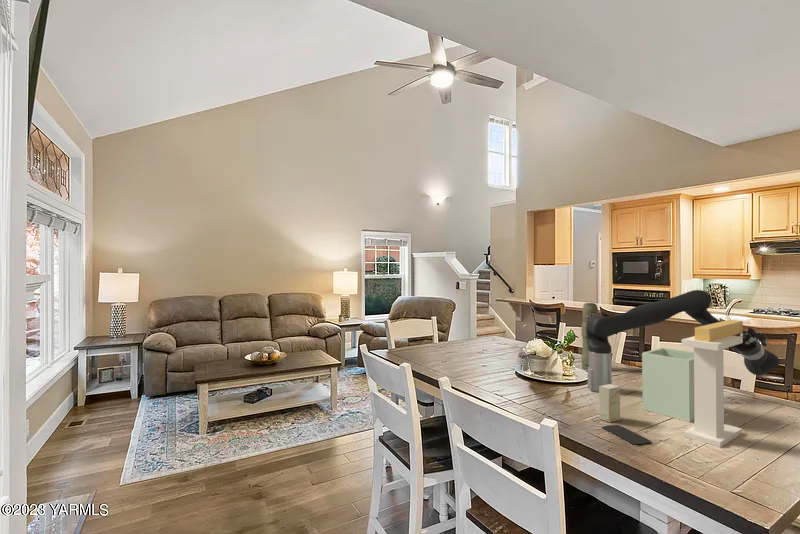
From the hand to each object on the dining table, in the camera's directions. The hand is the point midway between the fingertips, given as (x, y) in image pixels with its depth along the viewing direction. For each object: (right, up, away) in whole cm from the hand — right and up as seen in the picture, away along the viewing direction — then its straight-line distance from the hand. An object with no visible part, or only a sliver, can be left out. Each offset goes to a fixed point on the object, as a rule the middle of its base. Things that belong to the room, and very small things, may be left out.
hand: (734, 328), depth 146 cm
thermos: (-16, -33, +75) cm, 83 cm away
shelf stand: (-15, -34, -10) cm, 38 cm away
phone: (-44, -35, -9) cm, 56 cm away
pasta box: (-10, -2, -7) cm, 13 cm away
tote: (-13, -33, +12) cm, 38 cm away
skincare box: (-42, -34, +5) cm, 54 cm away
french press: (-53, -34, +69) cm, 93 cm away
